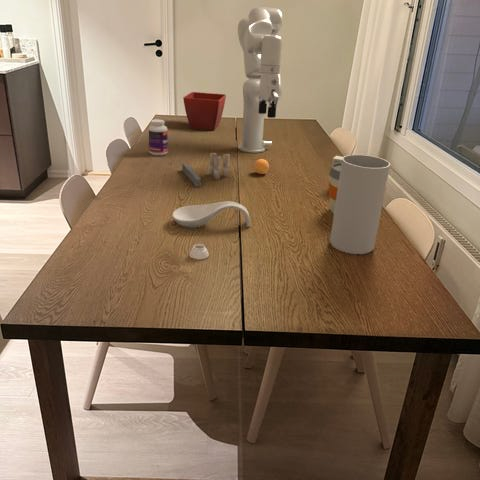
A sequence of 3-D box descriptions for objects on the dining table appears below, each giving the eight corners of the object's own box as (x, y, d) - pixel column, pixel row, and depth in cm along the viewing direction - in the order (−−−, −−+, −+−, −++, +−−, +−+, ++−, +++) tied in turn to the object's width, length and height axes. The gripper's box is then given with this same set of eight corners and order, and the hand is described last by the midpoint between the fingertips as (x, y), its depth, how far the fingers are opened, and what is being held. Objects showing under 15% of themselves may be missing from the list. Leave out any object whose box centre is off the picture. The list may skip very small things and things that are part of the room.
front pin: (227, 174, 193) (228, 153, 189) (229, 176, 191) (230, 155, 187) (221, 175, 192) (222, 154, 188) (223, 177, 190) (224, 155, 186)
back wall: (186, 170, 195) (186, 162, 194) (200, 186, 178) (200, 178, 177) (182, 170, 194) (182, 163, 193) (196, 187, 178) (196, 179, 176)
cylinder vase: (365, 260, 133) (382, 171, 122) (322, 247, 138) (335, 161, 128) (379, 244, 142) (396, 160, 132) (339, 232, 148) (351, 152, 137)
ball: (264, 171, 200) (265, 156, 197) (270, 175, 195) (272, 161, 192) (251, 171, 198) (252, 157, 195) (256, 176, 193) (257, 161, 190)
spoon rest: (171, 232, 142) (171, 209, 139) (172, 216, 153) (172, 195, 150) (252, 233, 145) (253, 210, 142) (247, 217, 156) (249, 196, 152)
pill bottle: (166, 156, 210) (165, 123, 204) (147, 155, 210) (146, 122, 204) (169, 151, 218) (168, 119, 211) (151, 150, 218) (150, 118, 211)
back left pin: (218, 177, 189) (219, 156, 185) (220, 179, 187) (221, 157, 183) (212, 178, 188) (213, 156, 184) (214, 179, 186) (215, 158, 182)
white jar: (212, 256, 130) (198, 250, 133) (212, 246, 129) (198, 240, 132) (199, 262, 126) (185, 256, 129) (199, 252, 125) (185, 246, 128)
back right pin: (214, 173, 193) (215, 152, 189) (216, 175, 191) (217, 154, 187) (208, 174, 192) (209, 152, 189) (210, 175, 190) (211, 154, 187)
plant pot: (182, 129, 257) (182, 97, 250) (191, 122, 274) (192, 91, 267) (218, 133, 255) (219, 100, 247) (225, 125, 272) (226, 94, 264)
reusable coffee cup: (317, 210, 164) (323, 166, 158) (337, 201, 172) (343, 160, 166) (349, 221, 156) (357, 176, 150) (369, 212, 165) (377, 169, 159)
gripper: (287, 72, 181) (284, 119, 188) (270, 68, 196) (267, 112, 203) (269, 71, 179) (265, 119, 186) (253, 68, 194) (250, 112, 201)
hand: (266, 115), depth 194 cm, fingers open, 9 cm apart
